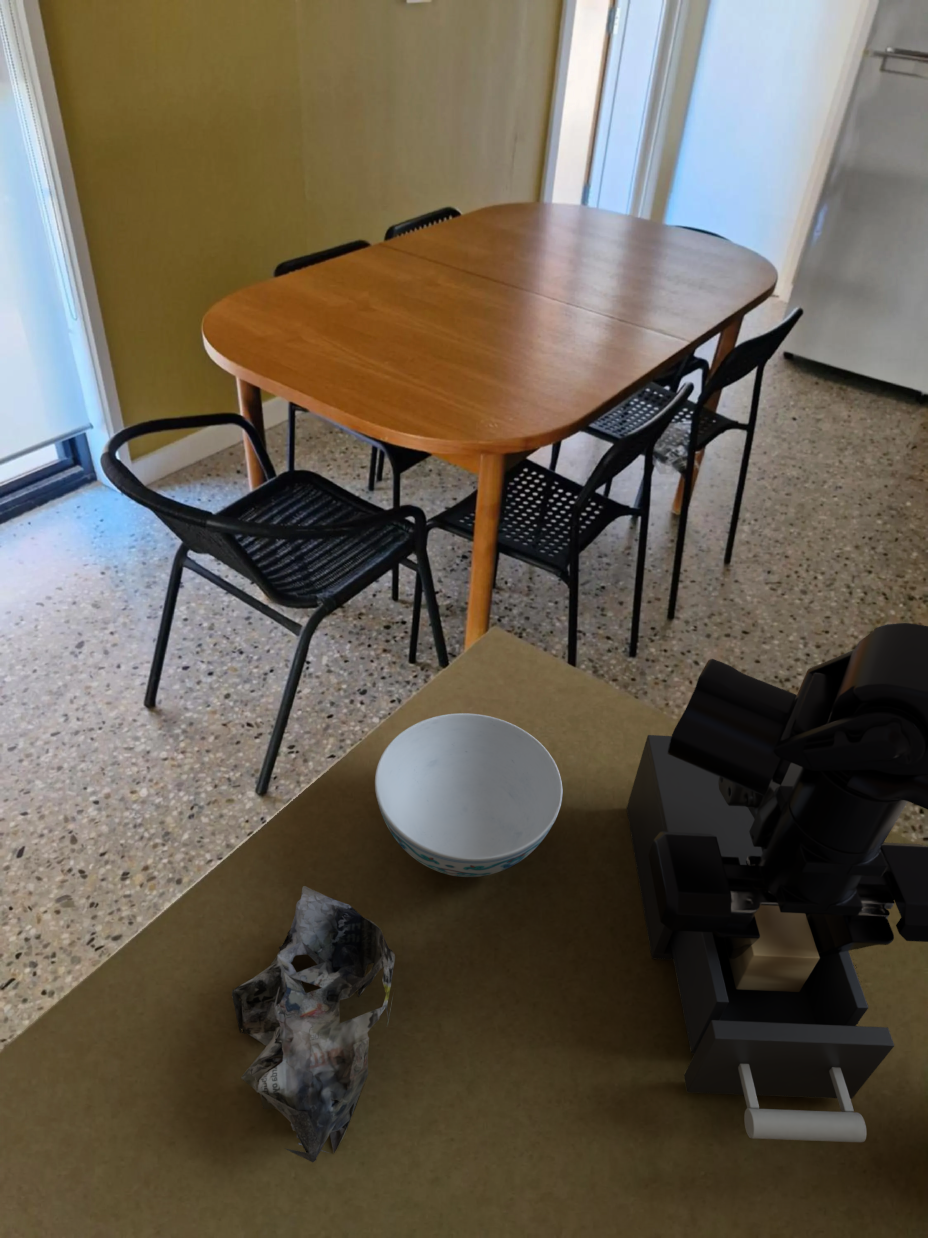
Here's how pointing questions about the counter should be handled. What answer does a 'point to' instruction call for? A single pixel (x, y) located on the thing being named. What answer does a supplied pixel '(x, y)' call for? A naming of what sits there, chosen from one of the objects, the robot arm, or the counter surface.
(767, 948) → the block
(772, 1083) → the pulled-out drawer
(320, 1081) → the foil
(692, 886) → the robot arm
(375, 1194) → the counter surface
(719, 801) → the drawer cabinet
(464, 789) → the chinaware
